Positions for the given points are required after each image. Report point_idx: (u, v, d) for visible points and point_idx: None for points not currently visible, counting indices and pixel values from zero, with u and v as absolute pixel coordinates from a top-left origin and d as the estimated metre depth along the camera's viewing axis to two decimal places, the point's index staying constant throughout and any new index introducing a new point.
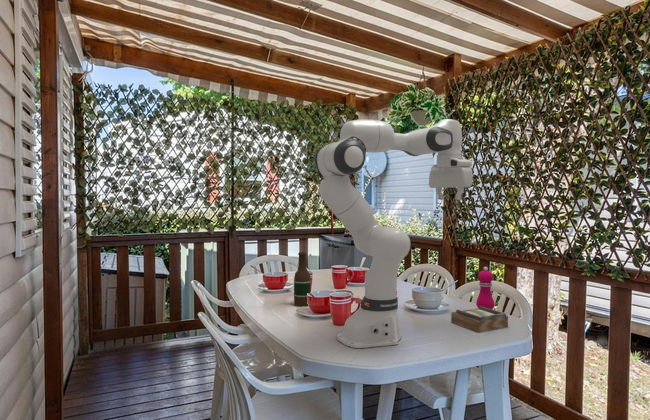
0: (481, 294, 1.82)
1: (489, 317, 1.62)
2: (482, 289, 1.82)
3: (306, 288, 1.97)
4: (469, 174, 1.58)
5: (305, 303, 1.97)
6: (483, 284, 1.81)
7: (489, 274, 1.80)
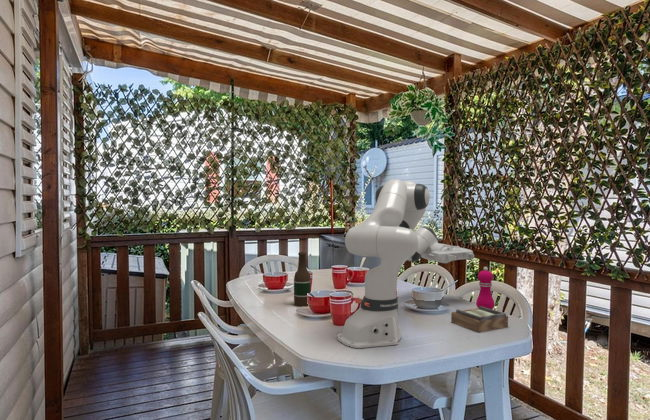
0: (481, 294, 1.82)
1: (489, 317, 1.62)
2: (482, 289, 1.82)
3: (306, 288, 1.97)
4: None
5: (305, 303, 1.97)
6: (483, 284, 1.81)
7: (489, 274, 1.80)
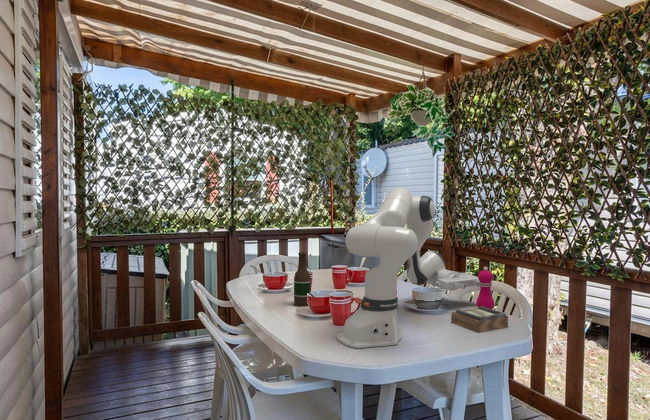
0: (481, 294, 1.82)
1: (489, 317, 1.62)
2: (482, 289, 1.82)
3: (306, 288, 1.97)
4: None
5: (305, 303, 1.97)
6: (483, 284, 1.81)
7: (489, 274, 1.80)
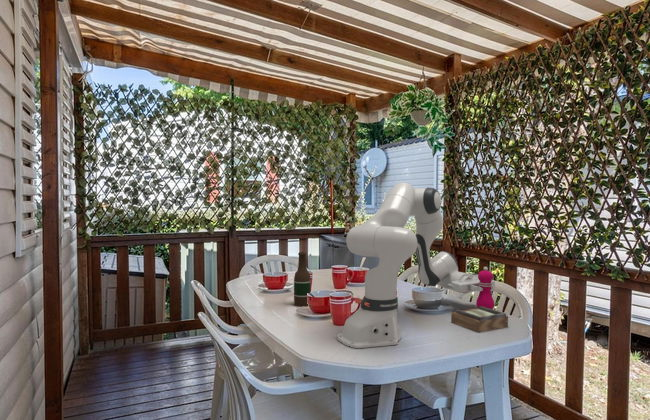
0: (481, 294, 1.82)
1: (489, 317, 1.62)
2: None
3: (306, 288, 1.97)
4: None
5: (305, 303, 1.97)
6: (483, 284, 1.81)
7: (489, 274, 1.80)
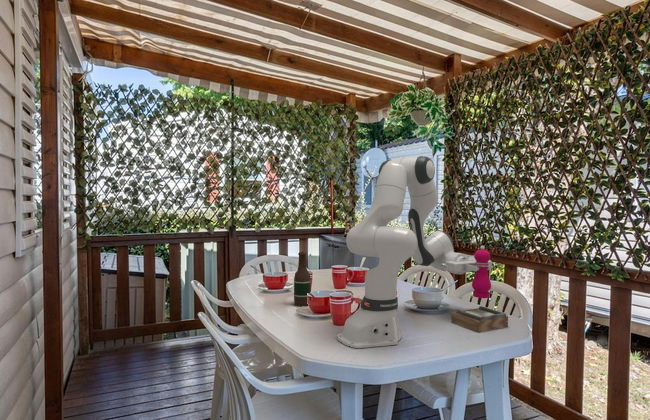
0: (477, 274, 1.71)
1: (489, 317, 1.62)
2: None
3: (306, 288, 1.97)
4: None
5: (305, 303, 1.97)
6: (479, 264, 1.71)
7: (486, 253, 1.70)
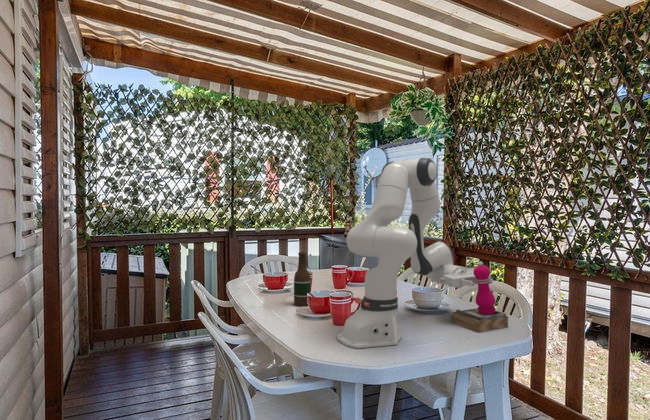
0: (479, 291, 1.68)
1: (489, 317, 1.62)
2: (480, 286, 1.67)
3: (306, 288, 1.97)
4: None
5: (305, 303, 1.97)
6: (480, 281, 1.66)
7: (485, 269, 1.65)
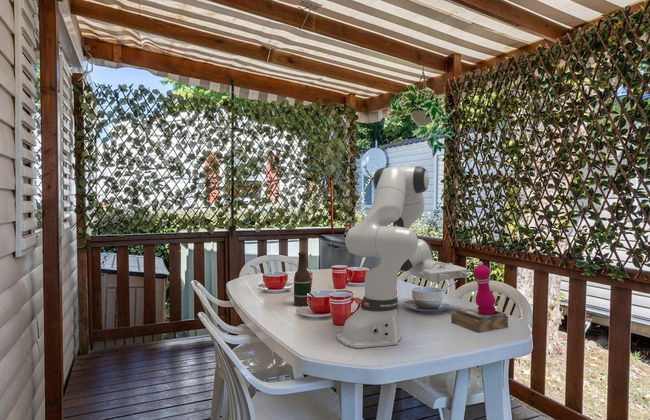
0: (479, 291, 1.68)
1: (489, 317, 1.62)
2: (480, 286, 1.67)
3: (306, 288, 1.97)
4: None
5: (305, 303, 1.97)
6: (480, 281, 1.66)
7: (485, 269, 1.65)
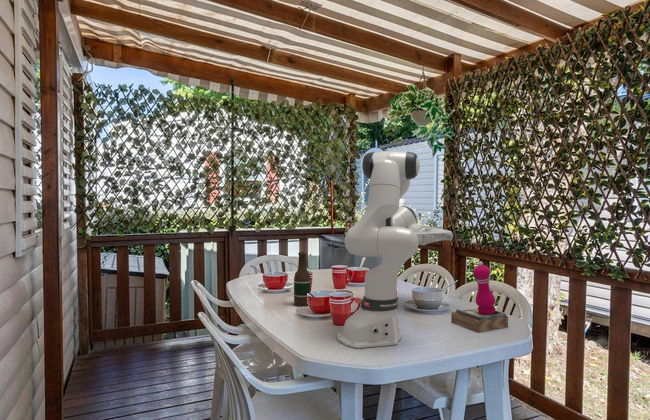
0: (479, 291, 1.68)
1: (489, 317, 1.62)
2: (480, 286, 1.67)
3: (306, 288, 1.97)
4: None
5: (305, 303, 1.97)
6: (480, 281, 1.66)
7: (485, 269, 1.65)
